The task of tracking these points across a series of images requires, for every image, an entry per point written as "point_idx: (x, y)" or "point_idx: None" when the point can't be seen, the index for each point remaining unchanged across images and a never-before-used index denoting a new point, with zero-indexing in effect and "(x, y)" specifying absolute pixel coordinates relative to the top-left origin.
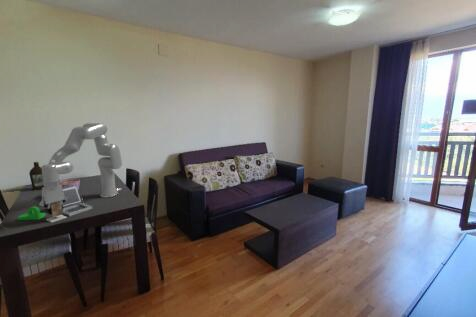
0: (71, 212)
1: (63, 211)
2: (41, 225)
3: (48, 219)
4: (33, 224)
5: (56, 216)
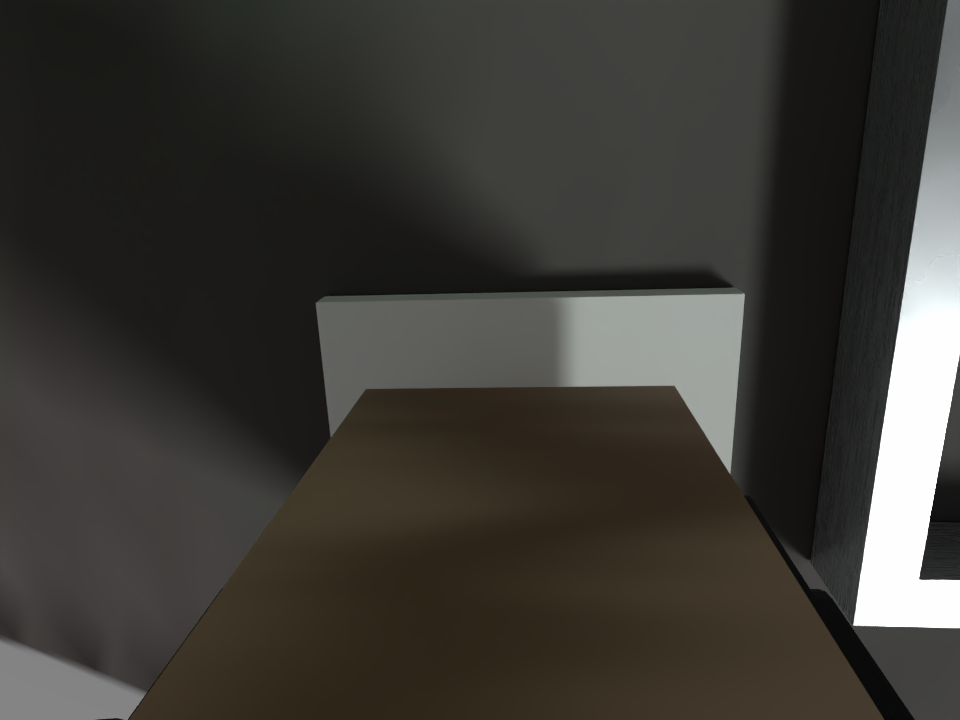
0: (935, 614)
1: (903, 211)
2: (159, 565)
3: (349, 391)
4: (32, 331)
5: (580, 340)
